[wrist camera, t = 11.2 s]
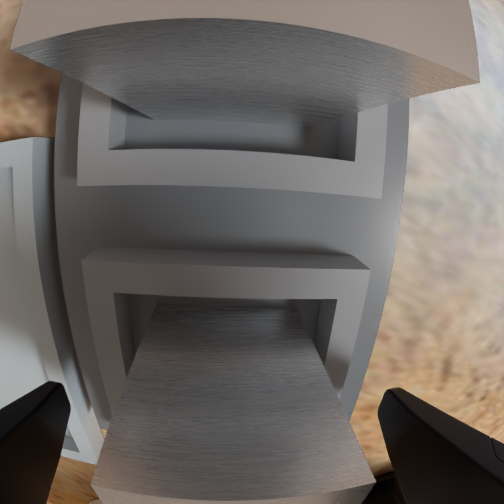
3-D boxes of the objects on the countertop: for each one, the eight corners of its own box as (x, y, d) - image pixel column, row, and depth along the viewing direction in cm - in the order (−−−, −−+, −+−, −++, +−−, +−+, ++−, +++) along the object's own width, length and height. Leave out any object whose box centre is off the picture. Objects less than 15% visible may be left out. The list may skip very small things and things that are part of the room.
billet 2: (281, 405, 10) (318, 556, 4) (167, 404, 10) (145, 558, 4) (295, 306, 9) (376, 482, 3) (157, 303, 9) (90, 484, 3)
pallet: (337, 413, 12) (359, 467, 9) (106, 409, 11) (87, 464, 8) (378, -57, 7) (414, -96, 3) (120, -75, 6) (98, -121, 2)
